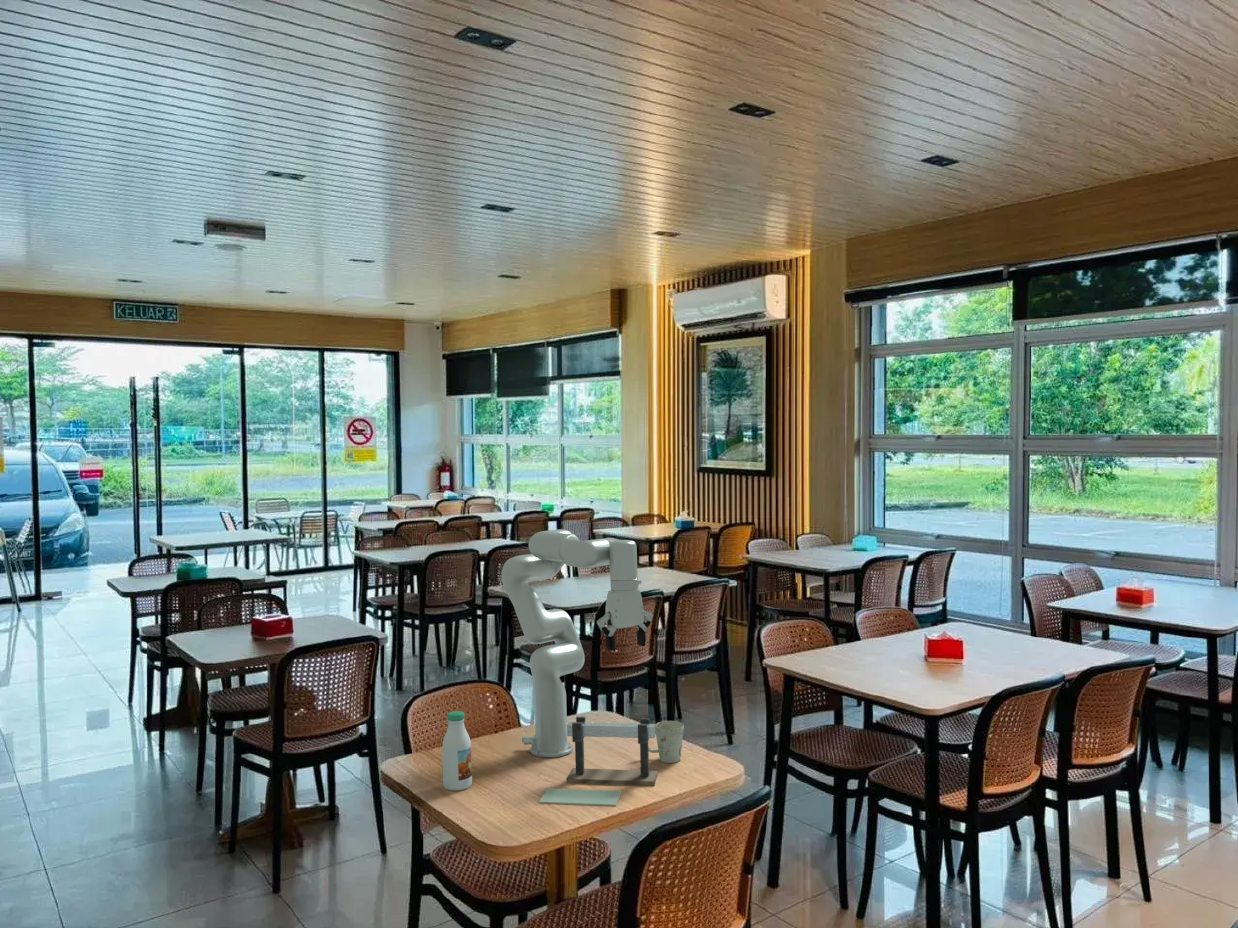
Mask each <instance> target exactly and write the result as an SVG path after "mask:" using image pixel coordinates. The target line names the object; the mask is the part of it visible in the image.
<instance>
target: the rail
mask: <svg viewBox="0 0 1238 928" xmlns="http://www.w3.org/2000/svg"><path fill="white" fill-rule="evenodd" d="M572 723H581V724H582V737H584V738H585V737H589V738H590V737H591V738H619V739H620V738H622V739H623V738H624V739H626V738H627V739H630V738H631V739H638V724H639V723H636V722H635V723H629V722H593V721H592V722H591V721H590V722H589V721H588V722H587V721H585V722H576V721H569V722H567V737H572ZM655 725H656V723H650V724H647V738H649V739H655V738H656V729H655Z"/></svg>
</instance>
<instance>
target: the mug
mask: <svg viewBox="0 0 1238 928" xmlns="http://www.w3.org/2000/svg"><path fill="white" fill-rule="evenodd" d="M655 729H656V735H655V738H656V743H657V744H656V745H657V749H651V748H650V747H649V746H648V750H649V753H653V754H658V755H659V761H661V762H662V763H666V764H667V763H668V764H673V763H678V762H680V761H681V758H682V749H683V738H684V730H685V727H684V723H682V722H680V721H677V720H664V721H659V722H657V723H655Z"/></svg>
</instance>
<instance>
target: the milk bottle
mask: <svg viewBox="0 0 1238 928" xmlns="http://www.w3.org/2000/svg"><path fill="white" fill-rule="evenodd" d="M446 716H447V717H446V719H447V723H448V725H447V729H446V732H445V735H444V736H443V740H442V786H443V788H444V789H445V790H447V791H451V792H452V791H456V792H457V791H463V790H467V789H468V788H470V787H471V786H472V784H473V770H472V769H473V768H472V767H473V766H472V764H473V763H472V762H473V761H472V743H471V738H470V735H469V733H468V731H467V729H466V726H465V723H464V722H465V712H464V711H462V710H454V711H450V712H447V715H446Z"/></svg>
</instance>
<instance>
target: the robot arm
mask: <svg viewBox="0 0 1238 928" xmlns="http://www.w3.org/2000/svg"><path fill="white" fill-rule="evenodd" d="M637 548H638V547H637V543H636V542H635V541H634V540H629V539H618V538H613V537H606V538H604V537H603V538H597V539H590V540H588V539H587V540H580V539H579V538H578V536H577V535H575V533H572V532H571V531H569V530H567V529H563V528H562V529H561V528H560V529H551V530H550V529H549V530H542V531H538V532H536V533H535V534H533V535H531V537H530V539H529V541H528V550H529V552H530V553H528V554H521V555H516V556H512V557H510V558H508V560H506V561H505V562H504V564H503V565H502V569H501V582H502V583H501V584H502V585H503V589H504V591H505V592H506V594H507V596H508V598H509V600H510V601H511V604H512V605H513V606H512V607H513V608H514V611H515V615H516V616H517V619H518V622H519V625H520V628H521V630H522V633H523V636H524V638H525V639H526V641H527V642H528V643H529V644H531V645H538V644H539V645H541V644H546V643H550V642H554V644H553V643H552V644H549V645H544V646H542V647H539V648H537V649H535V651H533V652H532V653H531V655H530V658H529V668H530V671H531V676H532V683H533V693H534V694H533V696H534V697H533V699H534V730H535V735H534V734H533V735H532V736H529V735H522V737H521V743H523V745H525V746H527V745H531V747H530V753H531V754H532V756H535V757H540V758H548V759H549V758H559V757H564V756H566V755H567V756H568V755H569V754H571V753H573V749H574V748H573V745H572V744H571V743H570V742H568V736H567V725H568V721H567V719H568V718H567V717H568V715H567V692H566V687H565V685H564V683H563V682H562V681H561V678H560V677H562V676H565V675H568V674H573V673H575V672H578V671H580V670H581V669H582V668H583V667H584V665H585V659H586V658H585V653H584V652H585V651H584V649H583V645H582V643H581V640H580V637H579V635H578V633H577V631H576V628H575V627H576V626H575V625H574V622H573V620H572V618H571V616H570V615H569V614H568V612H566V611H565V610H563V609H561V608H560V609H559V608H553V609H546V608H545V607H544V604H543V601H542V599H541V597H540V595H539V593H538V592H537V591H536V590H535V589H534V588H533V587H531V586H530V584H529V583H532V582H539V581H544V580H549V579H552V578H554V577H555V576H556V575H557V574H558V573H559V572H560V570H561V569H562V567H564V566H565V565H566V566H567V567H568V566H569V567H574V568H581V569H582V568H584V569H591V568H596V567H603V566H609V574H610V575H609V576H610V577H609V579H610V590H608V591H607V594H606V601H605V614H604V615H603V616H602V617H600V618H599V619H598V620H596V624H597V626H598V628H599V630H600V632H602V633H603V635H604V636H605V647H606V649H607V651H611V652H614V651H615V650H616V645H615V644H616V638H615V636H614V634H615V632H616V631H617V629H624V628H625V629H627V628H631V627H636V628H637V630H636V640H637V641H636V643H637V645H638V646H640V647H645V646H646V642H647V638H646V637H647V635H646V633H647V631H648V628H649V627H650V625H651V622H652V619H653V617H654V614H653V613H652V612H649V611H647V610H645V609H644V605H643V604H644V603H643V596H642V594H641V589H639V585H642V579H639V577H638V553H637ZM644 616H645V617H644ZM606 626H607V627H606Z"/></svg>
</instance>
